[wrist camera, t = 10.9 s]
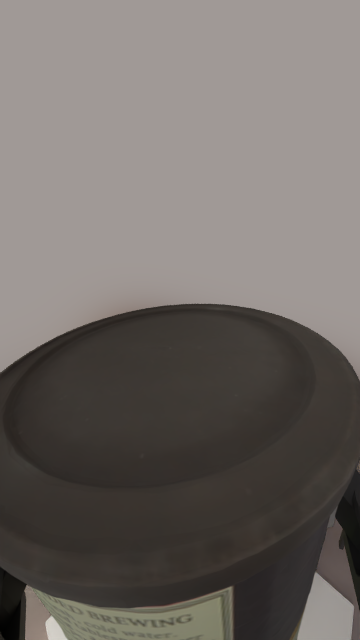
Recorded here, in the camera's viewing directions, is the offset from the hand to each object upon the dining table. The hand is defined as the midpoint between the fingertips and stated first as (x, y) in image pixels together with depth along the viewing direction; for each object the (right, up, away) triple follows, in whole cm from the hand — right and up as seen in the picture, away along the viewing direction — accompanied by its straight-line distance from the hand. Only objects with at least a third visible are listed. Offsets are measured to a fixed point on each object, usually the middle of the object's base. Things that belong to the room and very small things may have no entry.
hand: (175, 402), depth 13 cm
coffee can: (+1, -9, -2) cm, 9 cm away
